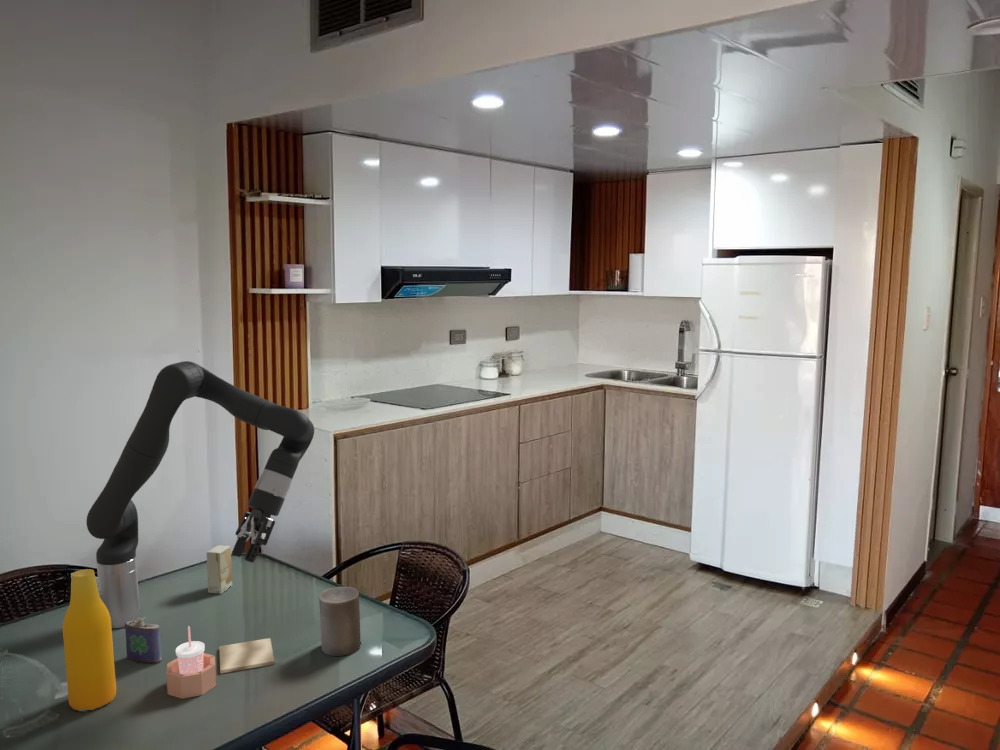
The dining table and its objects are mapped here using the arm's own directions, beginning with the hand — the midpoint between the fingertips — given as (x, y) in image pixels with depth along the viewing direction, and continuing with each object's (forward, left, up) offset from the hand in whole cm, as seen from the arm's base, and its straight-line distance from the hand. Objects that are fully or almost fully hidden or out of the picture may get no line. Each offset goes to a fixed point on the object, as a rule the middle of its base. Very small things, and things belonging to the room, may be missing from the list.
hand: (242, 558), depth 179 cm
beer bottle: (-32, -5, -26) cm, 42 cm away
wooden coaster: (0, +3, -26) cm, 26 cm away
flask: (-23, +10, -26) cm, 36 cm away
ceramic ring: (-12, -6, -26) cm, 29 cm away
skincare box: (-5, +46, -26) cm, 54 cm away
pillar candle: (+22, 0, -26) cm, 34 cm away
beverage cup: (-12, -6, -26) cm, 29 cm away
